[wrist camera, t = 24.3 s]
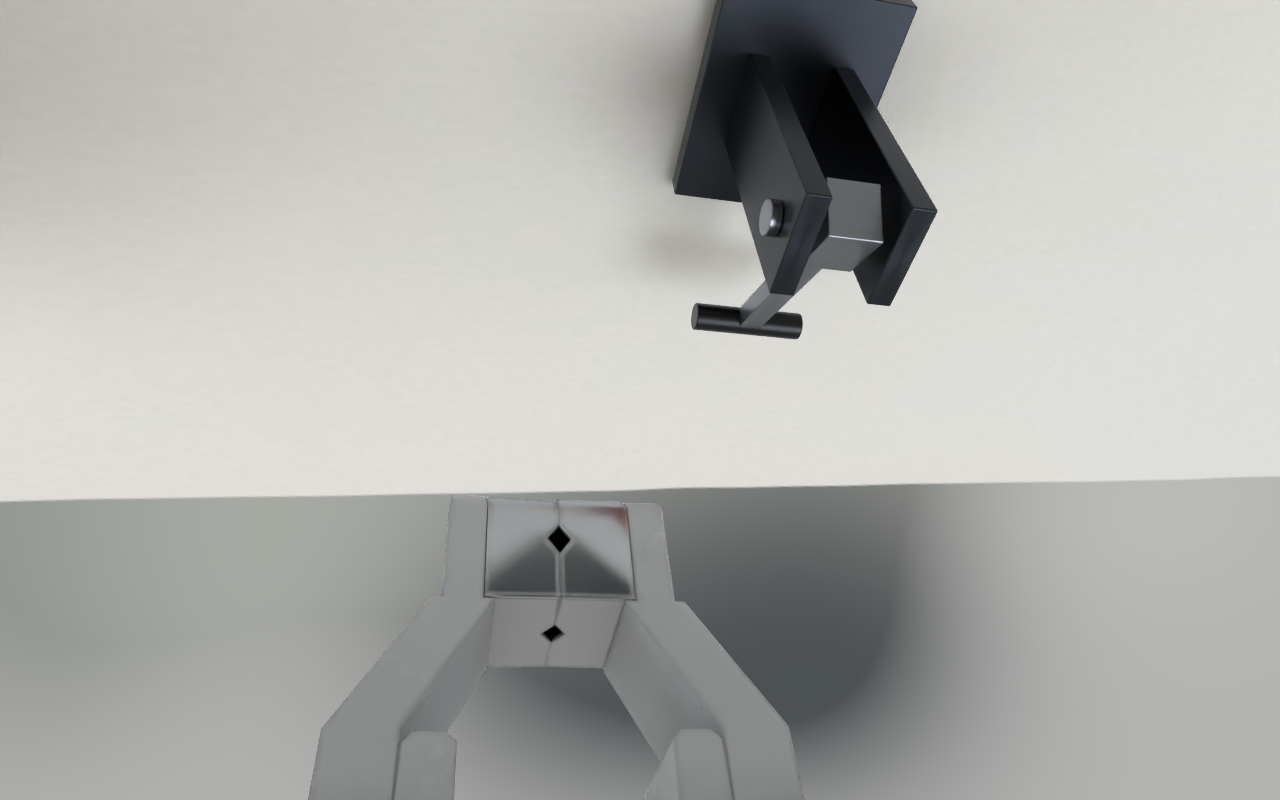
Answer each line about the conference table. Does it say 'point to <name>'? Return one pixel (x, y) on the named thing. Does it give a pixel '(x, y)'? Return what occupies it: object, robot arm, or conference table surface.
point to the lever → (808, 264)
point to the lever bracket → (803, 130)
